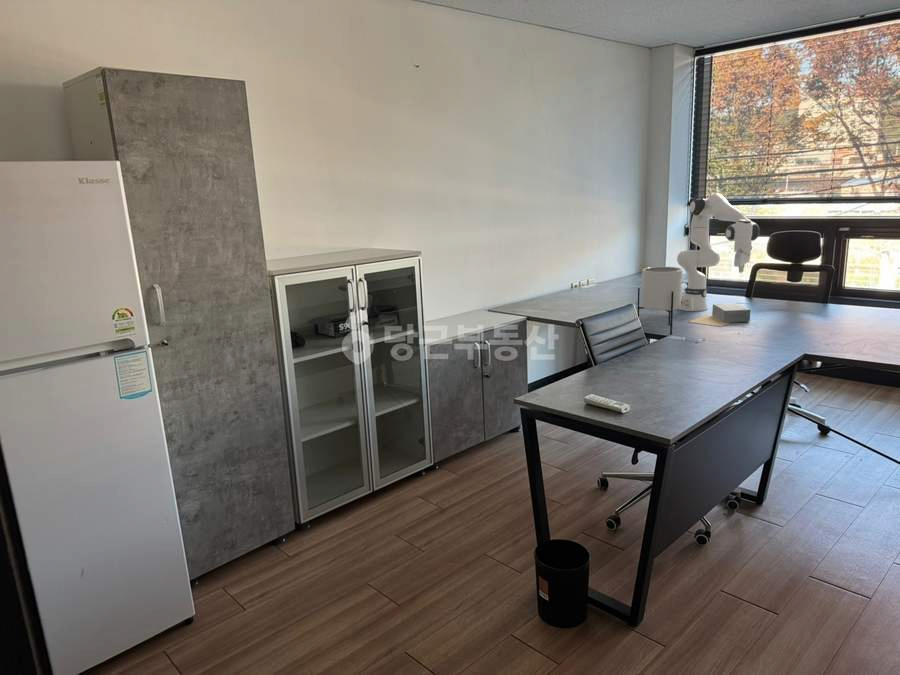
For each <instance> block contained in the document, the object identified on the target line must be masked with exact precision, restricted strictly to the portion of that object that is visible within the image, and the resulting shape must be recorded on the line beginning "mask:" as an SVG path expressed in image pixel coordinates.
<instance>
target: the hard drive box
mask: <svg viewBox="0 0 900 675" xmlns="http://www.w3.org/2000/svg"><path fill="white" fill-rule="evenodd" d="M711 311H712V313H711V316H714V317H716V318H717V319H719V320H720V321H722V322H732V323H749V322H750V321H751V309H750V308H748V307H746V306H743V305H742V304H740V303H738V302H737V303H734V302H733V303H713V304H712V310H711Z"/></svg>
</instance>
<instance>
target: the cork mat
mask: <svg viewBox="0 0 900 675" xmlns="http://www.w3.org/2000/svg"><path fill="white" fill-rule="evenodd" d="M690 322H691V323H692V324H697V325H698V324H699V325H706V326H713V327H720V328H722V327H724V326H726V325H729V324H732V323H733V322H722V321H720V320H719V319H717V318H716V317H714V316H712V315H709V314H706V315H703V316H701V317H697V318H694V319H692V320H690V321H688V323H690Z"/></svg>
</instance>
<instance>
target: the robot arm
mask: <svg viewBox="0 0 900 675" xmlns="http://www.w3.org/2000/svg"><path fill="white" fill-rule="evenodd" d="M689 212H690V214H691V215H692V217H691V223H690V234H689V236H690V238H689V240H690V243H692V244H694V245H695V246H697V247H699V249H687V250H682V251H680V252H679V253H678V255H677V258H676V261H677V264H678V265H679V266H680V268H682V269H683V270H684V271H685V272H686V275H687V287H685V288H684V289H683V291H684V293H682V294H681V307H680V308H678V309H677V310H681V311H685V312H686V311H687V312H701V311H706V310H708V304H707V276H706V275H705V274H704V273H703V272H701V271H699V270H697V268H711V267H717V265H718V264H719V263H720V258H721V257H720V253H719V252H718V251H717V250H715V249H714V248H713V246H712V245H711V243H710V237H709V236H710V234H709V232H710V220H711V218H712V219H717V220H719V221H722V222H723V221H725V222H735V223H733V224H729V225H728V226H727V227H726V228H725V231H724V232H725V233H724V234H725V238H726V239H727V240H728V241H731V242H734V244H733V245H734V247H733V252H734V253H735V255H734V261H733V266H734V267H736V268H737V267H738V273H740V274H741V273H744V269H745V265H746V264H747V263H749V262H750V260H751V253H752V250H753V246H752V242H754V241H755V240H756V239H758V238H759V236H760V235H761V228H760V226H759V225H758V224H757V223H756V222H754V221H752V220H751V219H750V217H748V216H747V215H746V214H745V213H744V212H743V211H742V210H740V209H738V208H736V207H735V206H733V205H732V204H731V203H729V201H728V200H727V199H726V197H724V195H723V194H720V193H718V192H717V193H713V194H711V195H710V196H709V197H708V198H695V199H694V198H693V200H692V201H690V203H689Z"/></svg>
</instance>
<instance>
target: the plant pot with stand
mask: <svg viewBox="0 0 900 675" xmlns="http://www.w3.org/2000/svg"><path fill="white" fill-rule="evenodd" d="M641 275H642V276H641V289H640V287H638V288H637V315H638V317H639V318H640V310H641V309H642V310H644V309H645V310H650V311H657V312H668V318H667V319H668V322H667V323H668V324H667V326H669V327H670V328H669V329H670V330H669V335H673V317H674V316H673V315H674V314H673V312H674V310H679V309H678V308H680V307H681V295H682V287H683V285H682V284H683V268H682V267H676V266H651V267H650V266H649V267H644V268H642V271H641ZM640 291H641V293H640ZM640 294H641V306H640Z"/></svg>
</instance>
